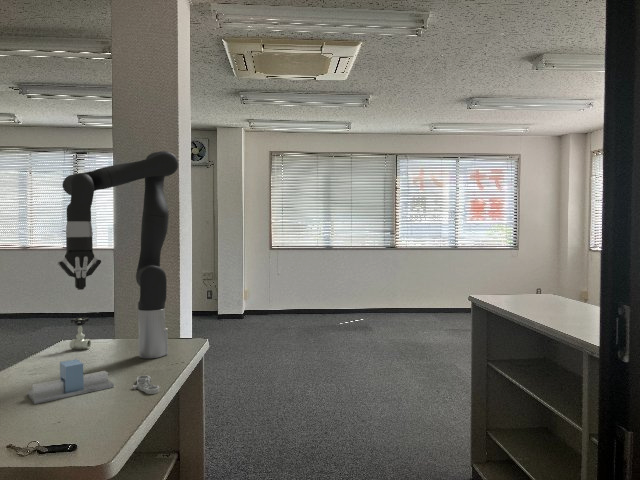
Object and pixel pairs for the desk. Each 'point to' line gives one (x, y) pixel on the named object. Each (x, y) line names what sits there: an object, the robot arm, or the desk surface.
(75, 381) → the block
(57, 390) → the din rail
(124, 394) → the desk surface
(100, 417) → the desk surface
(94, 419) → the desk surface
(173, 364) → the desk surface
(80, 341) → the valve
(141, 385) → the bracket
